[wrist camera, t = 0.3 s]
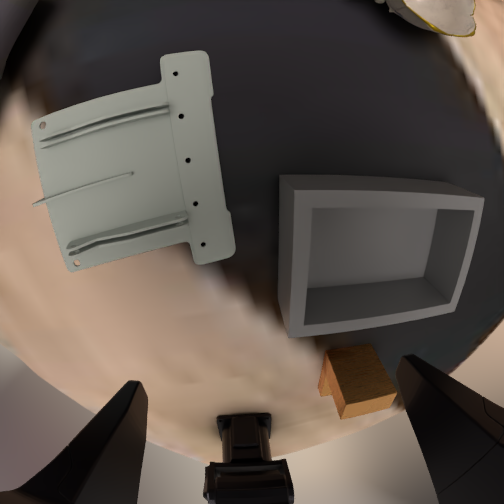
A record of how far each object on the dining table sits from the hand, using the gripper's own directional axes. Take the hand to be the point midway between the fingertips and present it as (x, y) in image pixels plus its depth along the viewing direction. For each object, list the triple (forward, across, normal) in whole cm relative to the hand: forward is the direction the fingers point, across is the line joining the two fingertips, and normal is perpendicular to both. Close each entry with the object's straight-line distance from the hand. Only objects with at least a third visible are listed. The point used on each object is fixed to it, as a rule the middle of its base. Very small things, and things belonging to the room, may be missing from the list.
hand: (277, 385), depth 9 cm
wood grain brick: (+14, -9, +16) cm, 23 cm away
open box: (+14, -10, +1) cm, 17 cm away
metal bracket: (+14, +8, -5) cm, 17 cm away
